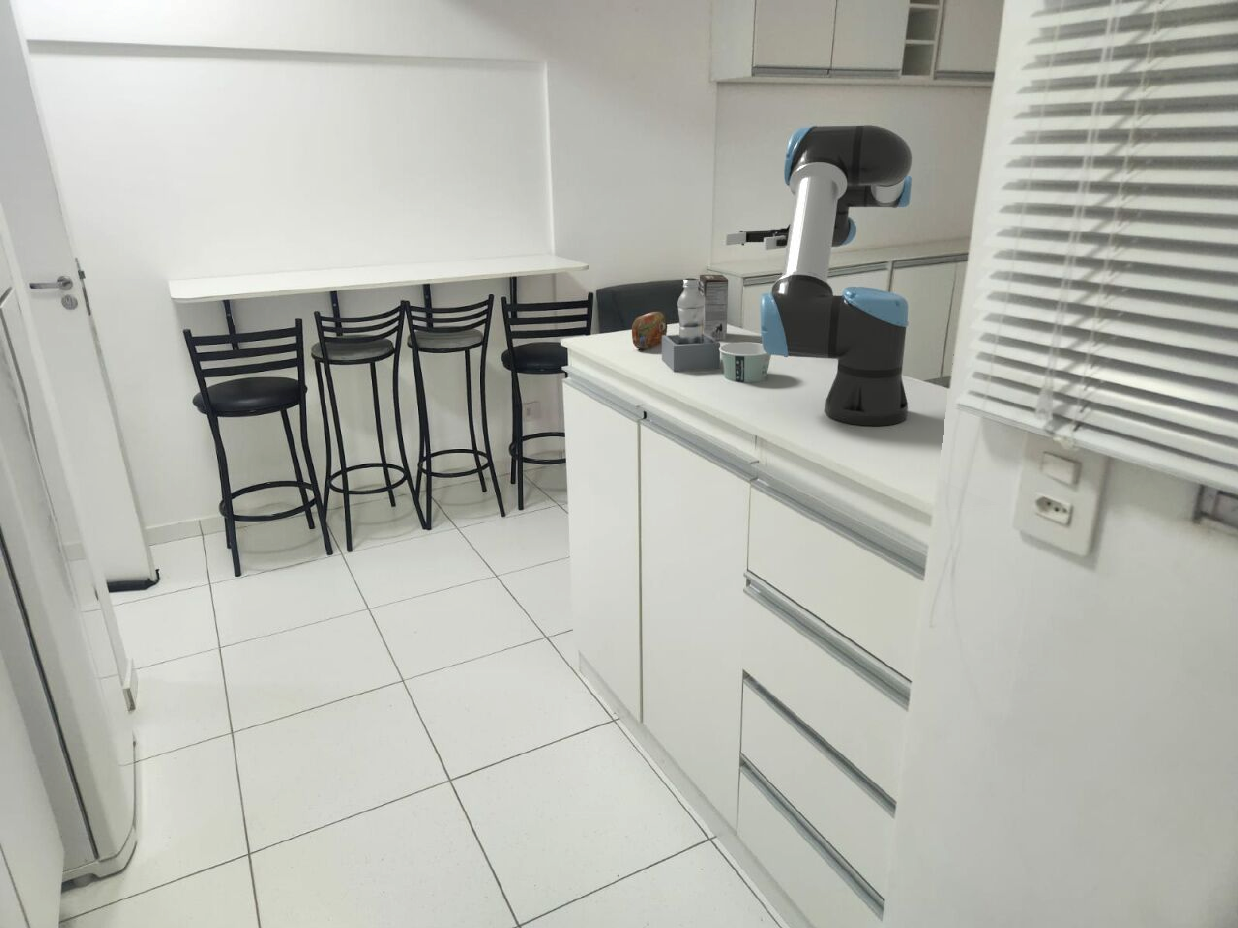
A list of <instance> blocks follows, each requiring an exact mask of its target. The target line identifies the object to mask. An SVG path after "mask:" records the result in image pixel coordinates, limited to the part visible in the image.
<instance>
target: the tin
mask: <svg viewBox="0 0 1238 928" xmlns="http://www.w3.org/2000/svg"><path fill="white" fill-rule="evenodd" d="M667 333H668V321H667V318H666V315H665V313H664V312H662V311H652V312H648V313H646V314H644V315H641V316H637V317H636V318H635V319H634V321H633V323H632V326H631V337H632V338H631V339H632V343H633V345H634V347H635V348H636V349H640V350H649V349H652V348H654V347H655V346H658V345H662V335H668V334H667Z"/></svg>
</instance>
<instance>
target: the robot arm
mask: <svg viewBox="0 0 1238 928" xmlns="http://www.w3.org/2000/svg"><path fill="white" fill-rule="evenodd" d="M785 156H786V157H785V161H784V167H783V169H784V170H783V171H784V173H783V177H784V182H785V184H786V186H788V187H789V188H790V191H791V193H792V194H793V196H794V200H793V207H792V213H791V218H790V223H789V224H788V226H787V227H785V228H783V227H781V228H778V229H769V230H768V229H767V230H747V231H746V230H744V231H743V230H740V231H738V232H731V233H724V235H723V236H724V237H723V240H724V241H723V243H724V246H734V245H741V246H745V244H747V243H763V250H764V251H771V250H777V249H785V248H786V249H785V255H784V262H783V267H782V268H783V269H782V274H781V277H780V278H778V279H777V280H776V281H775V282H774V283H773V284H772V287H771V292H769V291H767V292H765V293H763V294H762V295H761V297H760V331H761V332H760V333H761V344H763V348H764V350H765V352H766V353H768V354H770V355H771V356H781V357H784V358H788V357H797V358H800V357H801V358H811V359H812V358H816V359H834V360H837V367H836V368H837V370H836V375H835V376H834V379H833V382H832V384H831V386H830V389H829V391H828V394H827V395H826V396H827V397H826V398H825V401H824V402H825V403H824V414H825V415H826V416H827V417H828V418H831V419H833V420H835V421H838V422H842V423H845V424H850V425H857V426H871V427H872V426H873V427H876V426H877V427H878V426H881V427H883V426H891V425H895V424H896V425H897V424H900V423H902V422H904V421H906V420H907V418H908V413H909V402H908V398H907V394H906V391H905V385H904V382H903V365H904V355H905V345H906V335H907V327H908V326H909V323H910V322H909V319H908V317H909V303H908V301H907V299H905V297H903V296H902V295H900V294H898V293H895V292H893V291H887V290H884V289H878V288H871V287H864V286H858V287H857V286H848V287H846V288H844V290H843V292H842V293H841V294H842V295H834V292H833V288H832V287H831V285H830V283H828V275H829V274H828V272H829V267H830V259H831V251H832V248H839V247H843V246H847V245H849V244H850V243H851V242H852V241H853V240H854V238H855V236H856V232H857V227H856V224H855V221H854V219H853V218H852V217H851V216H849V214H850V208H892V209H896V208H906V207H908V206H909V205H910V202H911V195H912V194H911V193H912V186H913V185H912V182H913V178H912V177H911V176H910V175H909V174H910V171H911V168H912V165H913V164H912V163H913V153H912V151H911V148H910V145H908V143H907V142H906V140H904V138H903V137H901V136H900V135H899V134H897V133H895V132H893V131H892V130H889V129H887V128H885V127H881V126H878V125H870V124H868V125H865V124H864V125H833V126H832V125H830V126H829V125H826V126H823V125H821V126H820V125H819V126H817V125H812V126H808V127H800V128H797V129H795V131H794V132H793V133H792V135H791V136H790V139H789V142H788V145H787V149H786V152H785Z"/></svg>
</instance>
